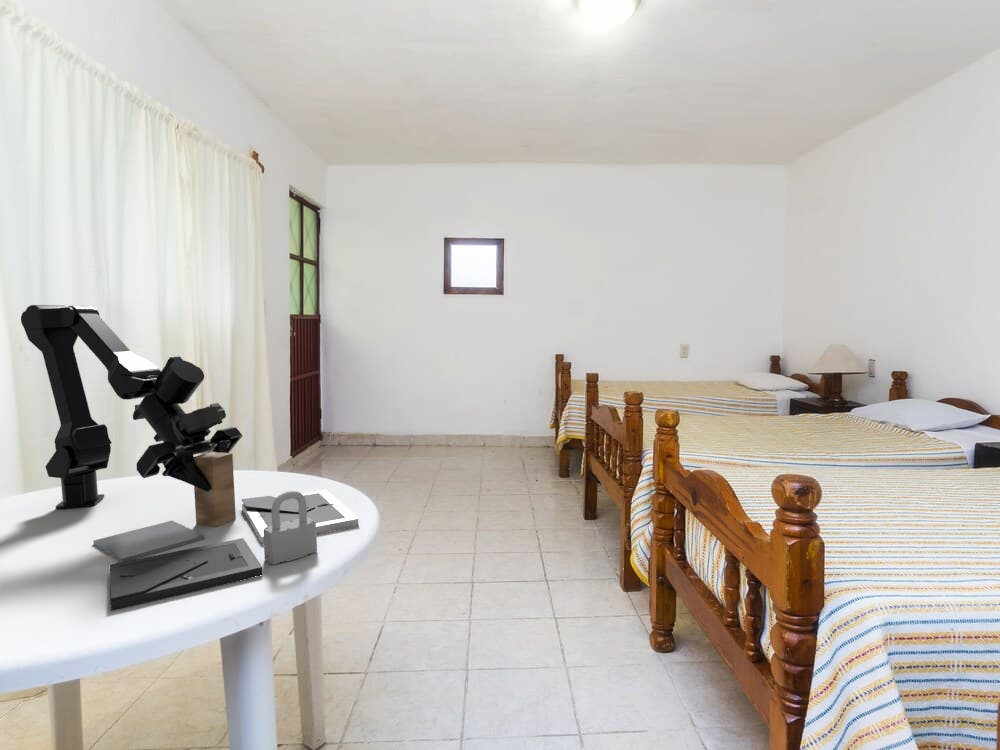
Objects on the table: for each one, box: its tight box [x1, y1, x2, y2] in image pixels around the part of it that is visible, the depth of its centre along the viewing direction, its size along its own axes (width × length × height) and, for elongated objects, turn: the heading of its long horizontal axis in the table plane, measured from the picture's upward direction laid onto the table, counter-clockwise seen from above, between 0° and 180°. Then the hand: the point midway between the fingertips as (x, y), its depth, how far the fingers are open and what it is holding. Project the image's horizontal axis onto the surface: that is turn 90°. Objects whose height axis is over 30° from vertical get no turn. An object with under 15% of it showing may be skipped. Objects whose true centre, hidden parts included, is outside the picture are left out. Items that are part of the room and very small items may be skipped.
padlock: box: [263, 490, 318, 565], centre depth 89 cm, size 7×4×10 cm, turn 134°
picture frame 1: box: [109, 537, 263, 612], centre depth 83 cm, size 13×2×18 cm
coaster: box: [92, 520, 205, 562], centre depth 96 cm, size 12×12×1 cm
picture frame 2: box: [241, 489, 359, 545], centre depth 107 cm, size 16×3×21 cm
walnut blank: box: [193, 452, 237, 528], centre depth 105 cm, size 4×4×12 cm
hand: (220, 485), depth 104 cm, fingers closed on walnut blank, 4 cm apart
